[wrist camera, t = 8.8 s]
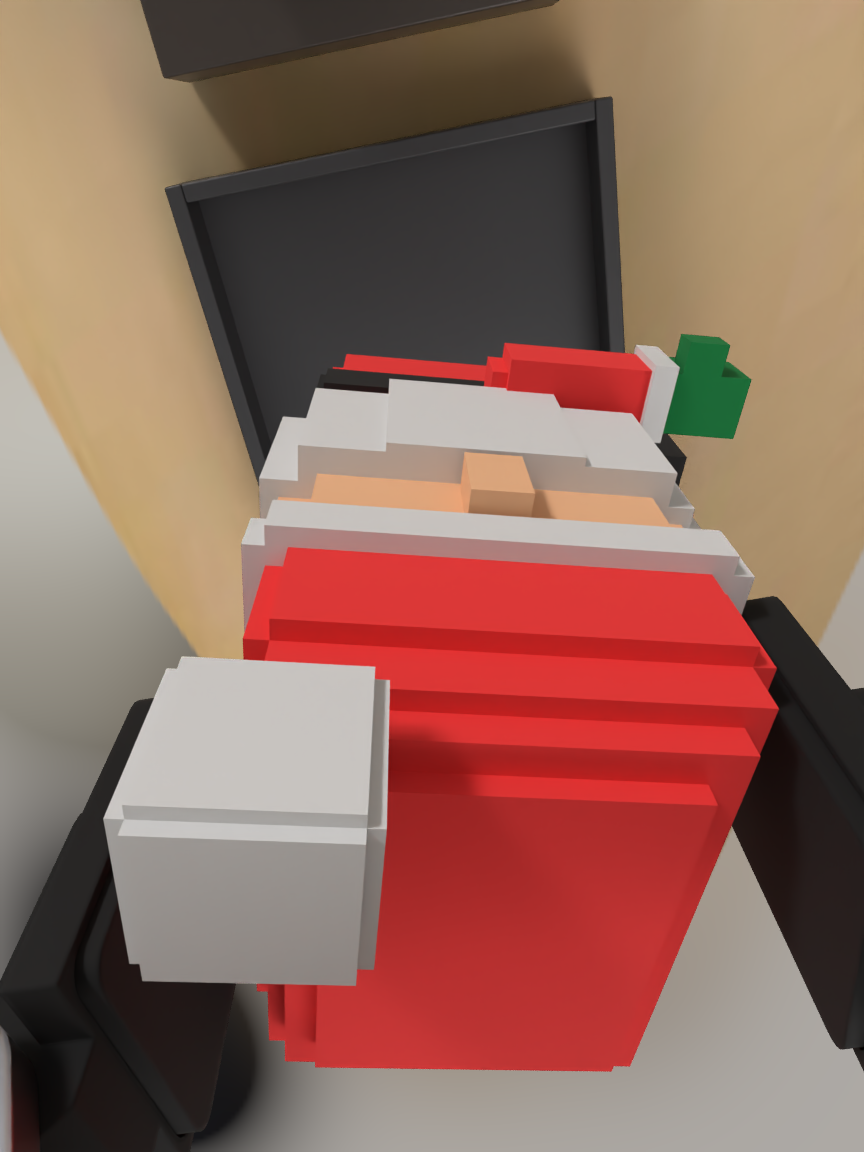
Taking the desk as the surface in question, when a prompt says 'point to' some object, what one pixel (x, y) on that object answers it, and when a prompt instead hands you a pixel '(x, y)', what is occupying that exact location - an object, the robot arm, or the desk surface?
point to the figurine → (459, 718)
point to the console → (294, 28)
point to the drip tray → (406, 254)
